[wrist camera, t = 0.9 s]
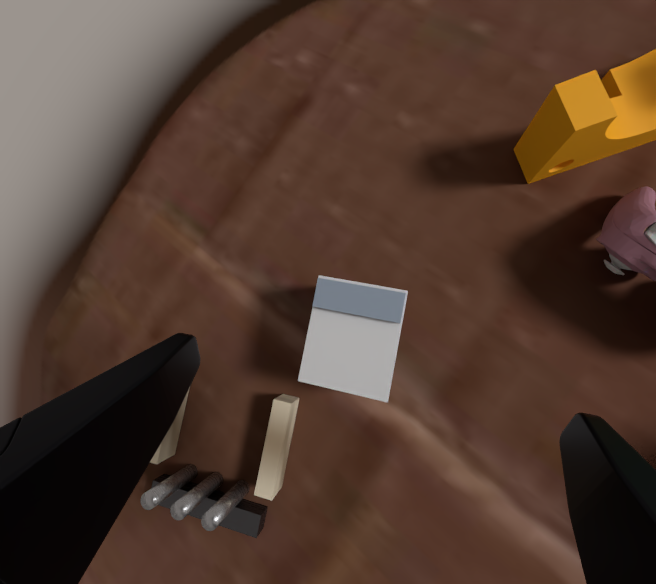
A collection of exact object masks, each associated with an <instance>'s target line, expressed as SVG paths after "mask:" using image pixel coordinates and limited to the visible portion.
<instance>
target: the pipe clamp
mask: <svg viewBox="0 0 656 584" xmlns="http://www.w3.org/2000/svg"><path fill="white" fill-rule="evenodd" d="M654 140H656V49H655V50H653V51H651V52H649V53H647V54H645V55H643V56H641V57H639V58H637V59H635V60H633V61H631V62H629V63H626V64H624V65H621V66H619V67H616V68H613V69H610V70H609V71H608V73H607V74H606V75H605V76H604V77H603V79H602V80H600V78H599V75H598V73H597V71H596V70H594V71H591V72H589V73H586V74H583V75H581V76H578V77H575V78H573V79H570V80H567V81H565V82H562V83H560V84H557V85H555V86H554V87H553V89H552V90H551V92H550V93H549V95H548V97H547V98H546V100H545V101H544V103H543V104H542V106H541V107H540V109H539V110H538V112H537V114H536V115H535V117H534V118H533V120H532V121H531V123H530V124H529V126H528V127H527V129H526V130H525V132H524V134H523V135H522V137H521V138H520V140H519V141H518V143H517V144H516V146H515V147H514V149H513V150H514V152H515V154H516V157H517V159H518V162H519V164H520V166H521V169H522V171H523V174H524V176H525V178H526V181H527V183H528V184H529V183H532V182H535V181H538V180H541V179H544V178H547V177H550V176H553V175H555V174H558V173H561V172H564V171H567V170H570V169H573V168H576V167H579V166H582V165H584V164H587V163H590V162H593V161H596V160H599V159H602V158H605V157H608V156H611V155H613V154H616V153H619V152H622V151H625V150H628V149H631V148H634V147H637V146H640V145H643V144H645V143H648V142H651V141H654Z"/></svg>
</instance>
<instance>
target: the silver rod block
mask: <svg viewBox="0 0 656 584" xmlns="http://www.w3.org/2000/svg"><path fill="white" fill-rule="evenodd" d="M196 475H197V468H196V467H195V466H194V465H193V464H189V465H187V466H186V467H184V468H182V469H181V470H179V471H178V472H176V473H175V474H173V475H172V476H169V475H166V474H163V475H161V476H160V477H158V478H156V479H155V480H153V483H152V487H151V489H150V490H148V491H147V492H145V493H144V494H143V495H142V497H141V505H142V507H143V508H144V509H146V510H150V509H152V508H154V507H155V506H157V505H160V506H163V507H166V508H169V509H170V512H171V515H172V517H173V518H174V519H176V520H182V519H183V518H184V517H185V516H187V515H190V516H193V517H196V518H199V519H201V523H202V526H203V528H204V529H205V530H207V531H212V530H214V529H215V528H216V527H217V526H218V525H219V526H222V527H225V528H228V529H231V530H234V531H237V532H240V533H243V534H246V535H249V536H252V537H255V538H257V537H258V535H259V534H260V532H261V531H262V529H263V527H264V522H265V517H266V512H267V506H264V505H261V504H257V503H254V502H251V501H248V500H245V499H243V498H244V497H245V495H246V494H247V493H248V492H249V484H248V483H247V482H246V481H245V480H240V481H238V482H237V483H236V484H235V485H234V486H233V487H232V488H231V489H230V490H229V491H228V492H227V493H223V492H220V491H217V490H216V489H217V488H218V487H219V486H221V484H222V483H223V477H222V475H221V474H220V473H218V472H214V473H212V474H211V475H210V476H208V477H207V478H206V479H204V480H203V481H202V482H201V483H199V484H194V483H191V482H190V481H191V480H192V479H194V478H195V477H196Z"/></svg>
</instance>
